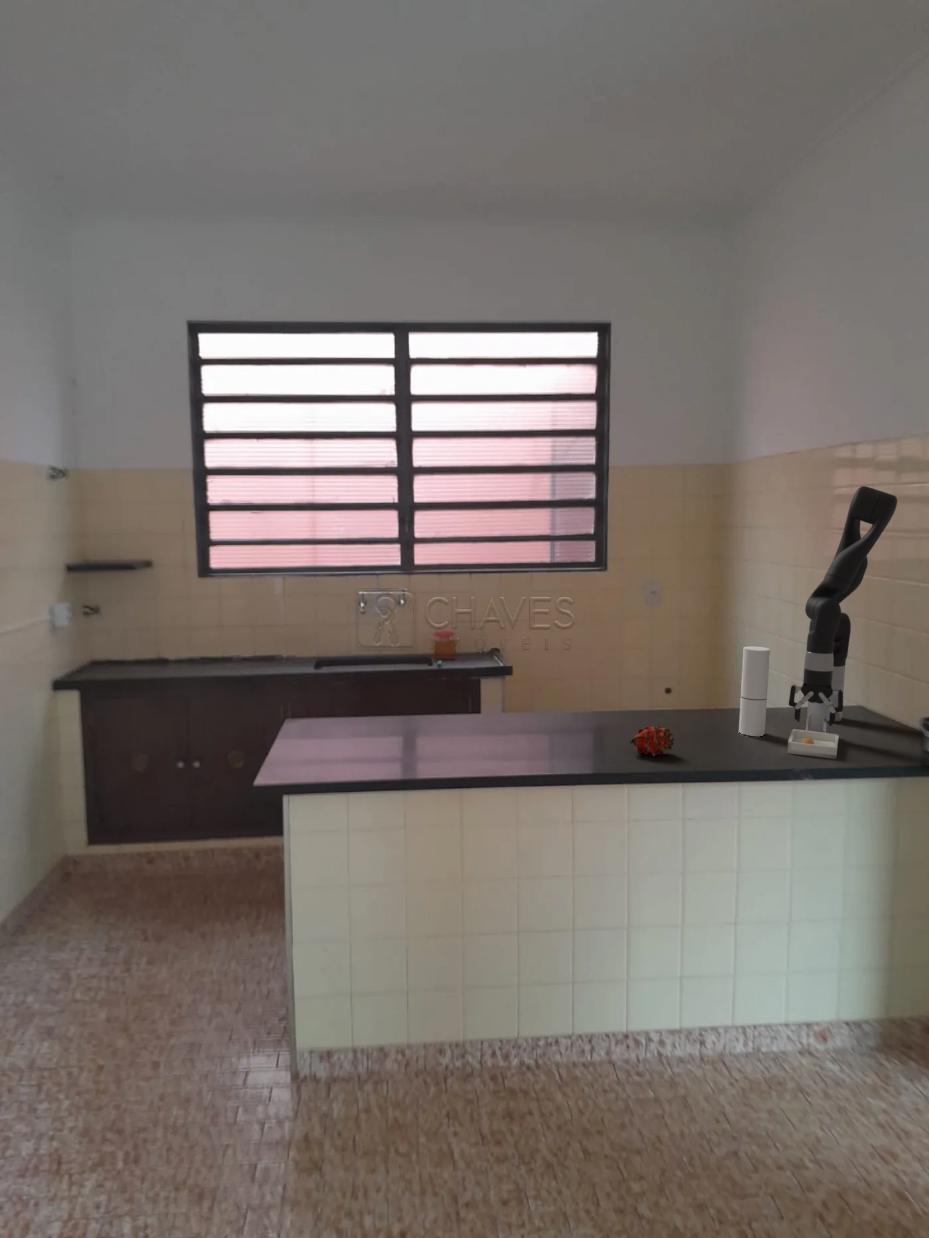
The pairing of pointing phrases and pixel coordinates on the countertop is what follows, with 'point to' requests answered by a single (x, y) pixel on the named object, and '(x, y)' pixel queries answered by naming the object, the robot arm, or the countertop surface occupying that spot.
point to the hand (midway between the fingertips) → (814, 723)
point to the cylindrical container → (754, 690)
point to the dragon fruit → (653, 740)
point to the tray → (822, 745)
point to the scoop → (816, 723)
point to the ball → (808, 741)
